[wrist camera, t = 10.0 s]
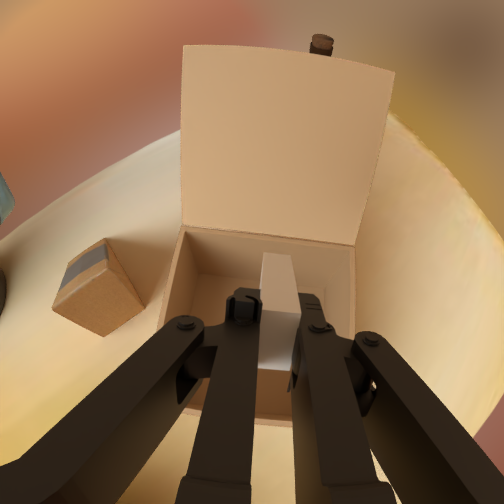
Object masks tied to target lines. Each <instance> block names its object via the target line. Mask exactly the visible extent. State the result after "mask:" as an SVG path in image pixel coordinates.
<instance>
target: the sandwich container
mask: <svg viewBox="0 0 504 504" xmlns="http://www.w3.org/2000/svg"><path fill="white" fill-rule="evenodd" d="M144 309H145V307H144V305H143V303H142V302H141V300H140V298H139V296H138V294H137V293H136V291H135V289H134V287H133V285H132V284H131V282H130V280H129V278H128V276H127V275H126V273H125V271H124V270H123V268H122V266H121V265H120V263H119V261H118V260H117V258H116V256H115V254H114V253H113V251H112V249H111V248H110V246H109V244H108V242H107V240H106V239H105V238H103V239H102V240H100V241H98V242H97V243H95V244H94V245H92V246H91V247H89V248H88V249H86V250H85V251H83V252H82V253H81V254H79V255H78V256H77V257H75V258H74V259H73V260H71V261H70V262H69V263H68V266H67V269H66V272H65V275H64V278H63V280H62V283H61V286H60V288H59V291H58V293H57V296H56V298H55V301H54V303H53V305H52V310H53V311H54V312H56V313H58V314H60V315H61V316H63V317H65V318H67V319H69V320H71V321H72V322H74V323H76V324H78V325H80V326H82V327H84V328H86V329H88V330H90V331H92V332H94V333H96V334H98V335H100V336H102V337H105V336H106V335H108V334H109V333H111V332H112V331H113V330H115V329H116V328H118V327H119V326H121V325H122V324H124V323H125V322H127V321H128V320H129V319H131V318H132V317H134V316H135V315H137V314H138V313H140V312H141V311H142V310H144Z"/></svg>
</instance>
